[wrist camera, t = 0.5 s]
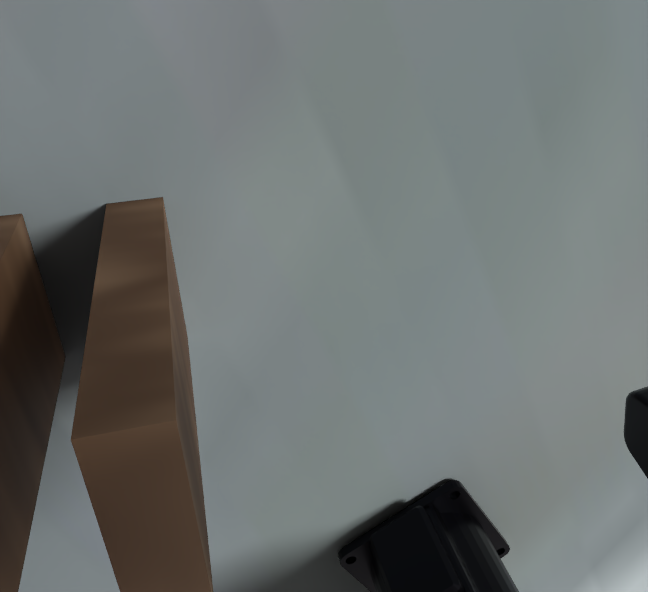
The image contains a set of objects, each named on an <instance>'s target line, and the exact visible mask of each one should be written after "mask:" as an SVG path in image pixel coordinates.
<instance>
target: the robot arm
mask: <svg viewBox="0 0 648 592" xmlns="http://www.w3.org/2000/svg"><path fill="white" fill-rule="evenodd" d="M624 438H625V442H626V445H627V447H628V449H629V451H630V453H631V454H632V456H633V457H634V459H635V460H636V462H637V463H638V465H639V466H640V468H641V469H642V471H643V472H644V474H645V475H646V477H647V478H648V387H645V388H642V389H639V390H636V391H633V392H631V393H629V395H628V396H627V398H626V407H625V423H624ZM509 550H510V548H509V545H508V544H507V542H506V540H505V539H504V538H503V536H502V535H501V534H500V532H499V531H498V530H497V529H496V527H495V526H494V525H493V523H492V522H491V521H490V520H489V518H488V517H487V516H486V514H485V513H484V512H483V511H482V509H481V508H480V507H479V505H478V504H477V503H476V502H475V500H474V499H473V498H472V496H471V495H470V494H469V493H468V491H467V490H466V489H465V487H464V486H463V485H462V484H461V482H459V481H457V480H453V481H449V482H447V483H445V484H444V485H442V486H441V487H439V488H437V489H436V490H434V491H433V492H431V493H430V494H428V495H426V496H425V497H423V498H422V499H420V500H418V501H417V502H415V503H414V504H412V505H410V506H409V507H407V508H406V509H404V510H402V511H401V512H399V513H398V514H396V515H395V516H393V517H391V518H390V519H388V520H387V521H385V522H383V523H382V524H380V525H379V526H377V527H375V528H374V529H372V530H371V531H369V532H368V533H366V534H364V535H363V536H361V537H360V538H358V539H356V540H355V541H353V542H352V543H350V544H348V545H347V546H345V547H344V548H342V549H341V550H340V551H339V553H338V557H339V560H340V564H341V565H342V567H344V568H345V569H346V570H347V571H348V572H349V573H350V574H352V575H353V576H354V577H355V578H356V579H357V580H358V581H360V582H361V583H362V584H363V585H364V586H365V587H366V588H368V589H369V590H370V591H371V592H519V591H518V589H517V587H516V586H515V584H514V582H513V580H512V579H511V577H510V575H509V573H508V571H507V570H506V568H505V566H504V564H503V563H502V561H501V559H500V558H502V557H504V556H505V555H506V554H507V553H508V552H509Z"/></svg>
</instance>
